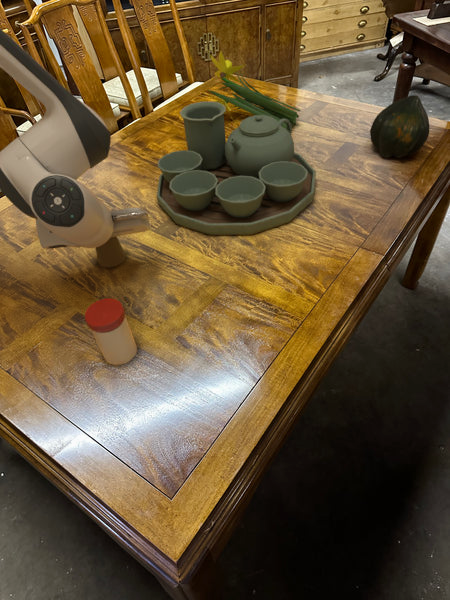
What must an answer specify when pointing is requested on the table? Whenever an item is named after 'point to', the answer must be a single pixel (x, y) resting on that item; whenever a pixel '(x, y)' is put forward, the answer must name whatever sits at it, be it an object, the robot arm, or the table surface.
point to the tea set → (234, 174)
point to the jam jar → (117, 344)
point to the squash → (400, 128)
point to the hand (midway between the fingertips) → (104, 234)
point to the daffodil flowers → (249, 95)
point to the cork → (110, 253)
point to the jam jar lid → (105, 315)
